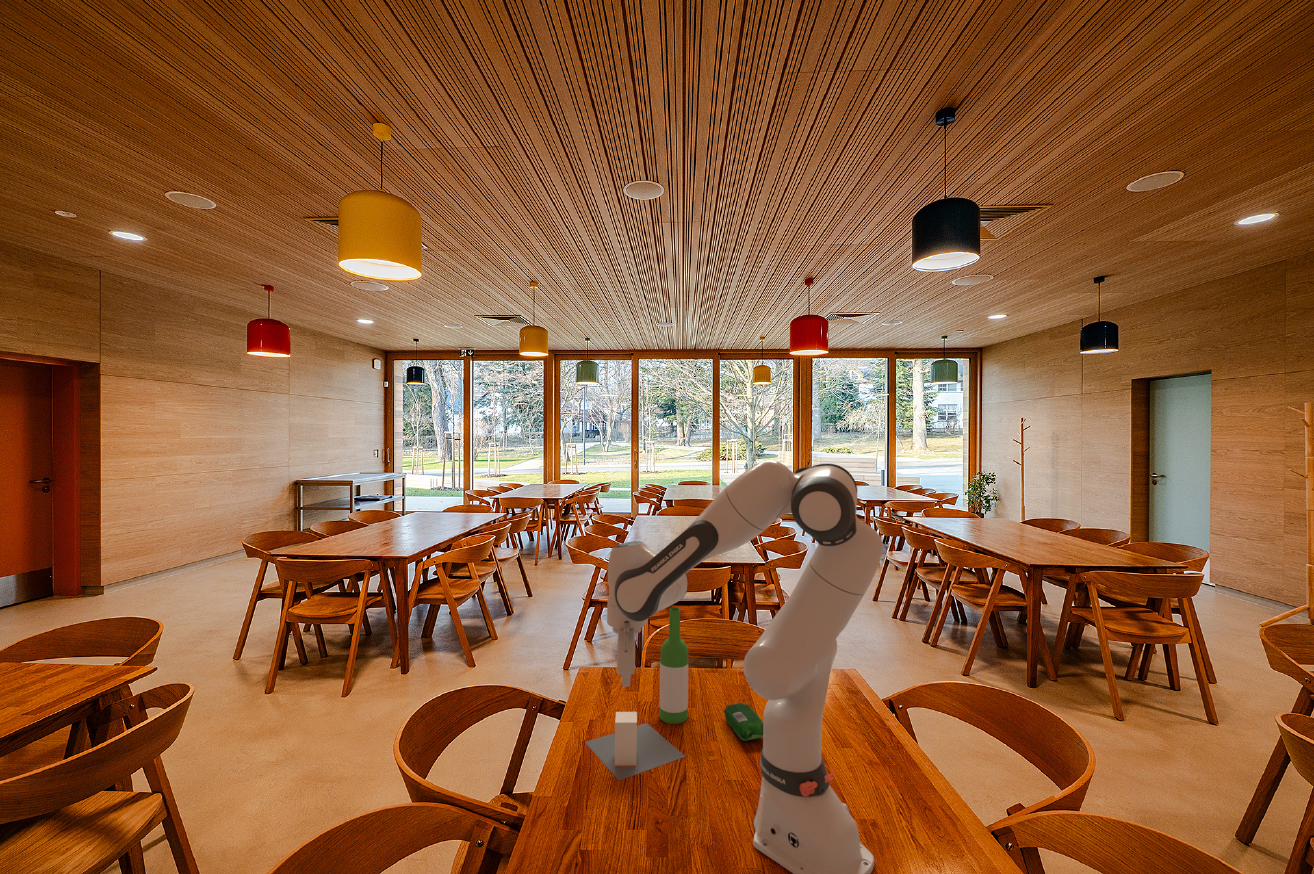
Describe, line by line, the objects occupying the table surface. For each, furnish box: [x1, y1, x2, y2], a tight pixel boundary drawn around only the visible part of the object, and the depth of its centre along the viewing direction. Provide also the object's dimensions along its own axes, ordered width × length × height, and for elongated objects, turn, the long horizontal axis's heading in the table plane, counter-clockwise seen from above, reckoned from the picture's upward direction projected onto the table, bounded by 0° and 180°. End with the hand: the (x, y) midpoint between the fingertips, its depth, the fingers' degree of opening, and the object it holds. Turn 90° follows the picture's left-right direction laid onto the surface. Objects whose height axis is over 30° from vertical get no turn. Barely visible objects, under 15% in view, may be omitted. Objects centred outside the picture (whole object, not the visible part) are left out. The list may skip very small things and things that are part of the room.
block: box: [614, 711, 638, 767], centre depth 125 cm, size 5×5×10 cm
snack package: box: [723, 702, 763, 742], centre depth 140 cm, size 7×16×5 cm, turn 13°
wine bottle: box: [659, 607, 689, 725], centre depth 146 cm, size 8×8×30 cm
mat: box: [584, 722, 687, 782], centre depth 130 cm, size 18×18×1 cm
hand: (626, 678), depth 118 cm, fingers open, 6 cm apart
